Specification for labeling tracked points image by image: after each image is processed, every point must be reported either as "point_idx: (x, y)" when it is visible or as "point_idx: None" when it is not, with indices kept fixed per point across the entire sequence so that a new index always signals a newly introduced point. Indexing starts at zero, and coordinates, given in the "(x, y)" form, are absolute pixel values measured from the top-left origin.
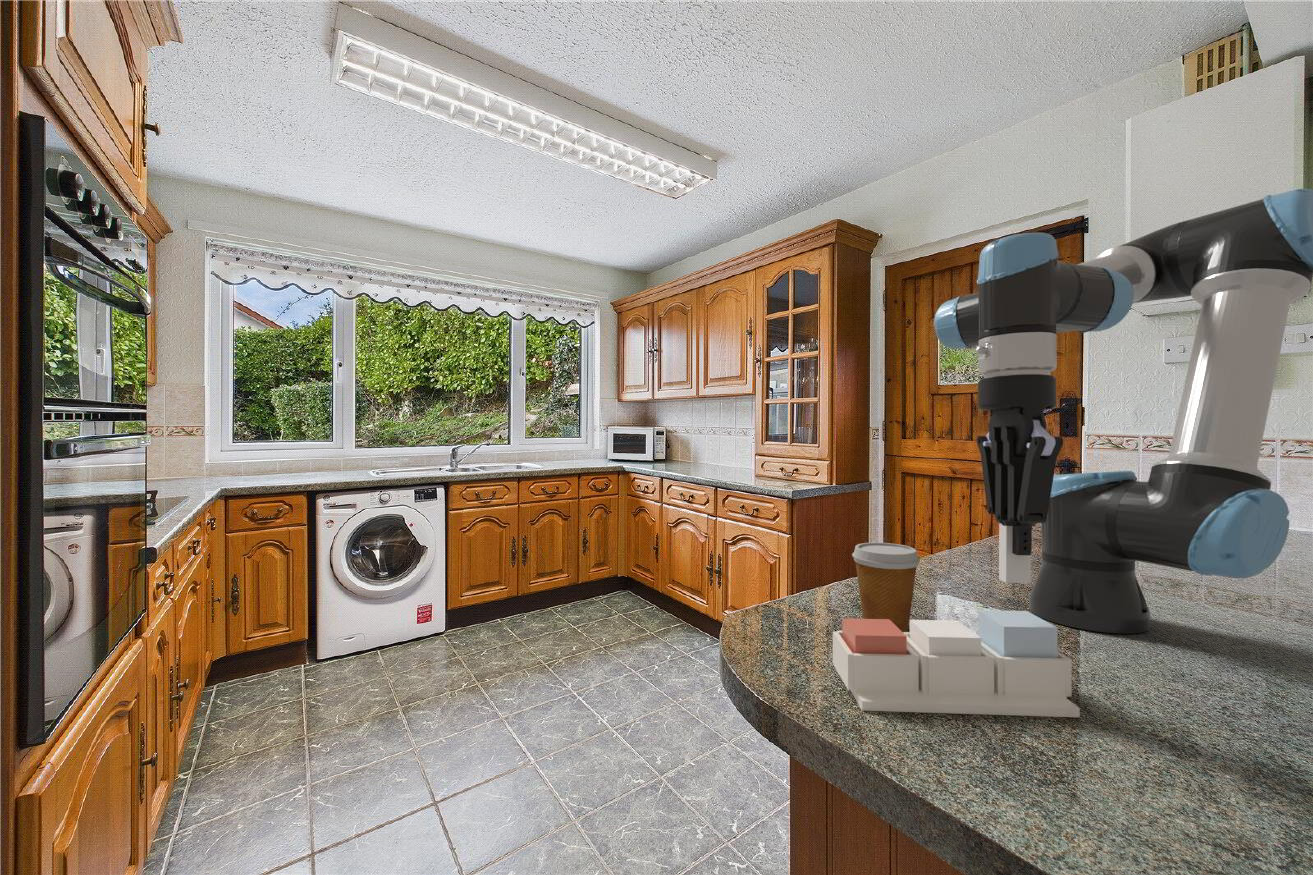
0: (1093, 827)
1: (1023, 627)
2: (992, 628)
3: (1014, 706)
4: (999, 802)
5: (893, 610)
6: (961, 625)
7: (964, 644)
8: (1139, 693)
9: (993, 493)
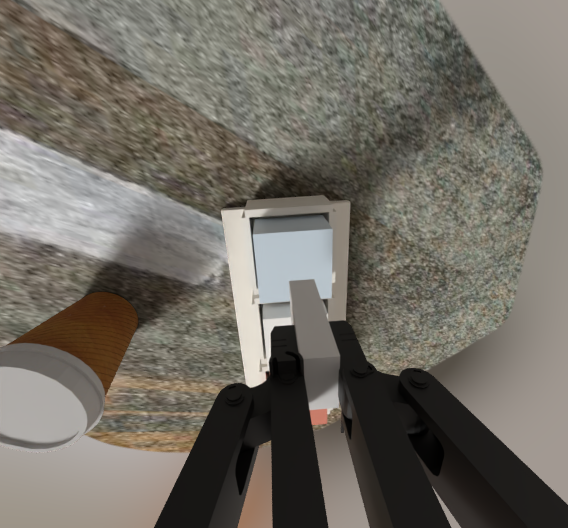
0: (489, 277)
1: (331, 273)
2: None
3: (347, 264)
4: (459, 320)
5: (126, 335)
6: (283, 321)
7: None
8: (279, 77)
9: (242, 501)
